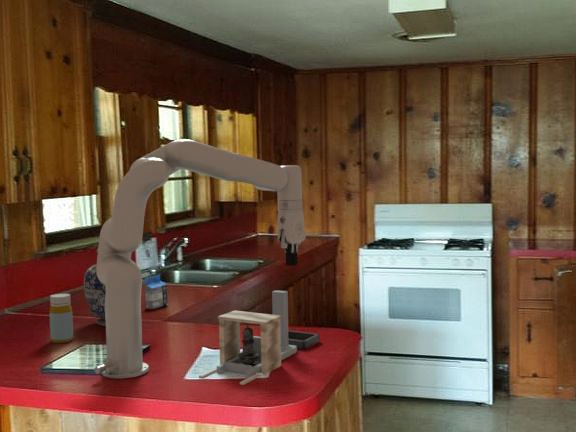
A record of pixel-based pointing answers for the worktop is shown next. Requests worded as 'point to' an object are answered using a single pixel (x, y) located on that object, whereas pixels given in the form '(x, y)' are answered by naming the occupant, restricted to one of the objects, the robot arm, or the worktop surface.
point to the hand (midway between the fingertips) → (291, 265)
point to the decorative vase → (95, 294)
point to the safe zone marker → (240, 382)
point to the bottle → (61, 318)
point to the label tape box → (155, 292)
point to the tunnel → (269, 337)
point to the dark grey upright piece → (248, 348)
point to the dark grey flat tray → (302, 339)
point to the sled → (286, 350)
